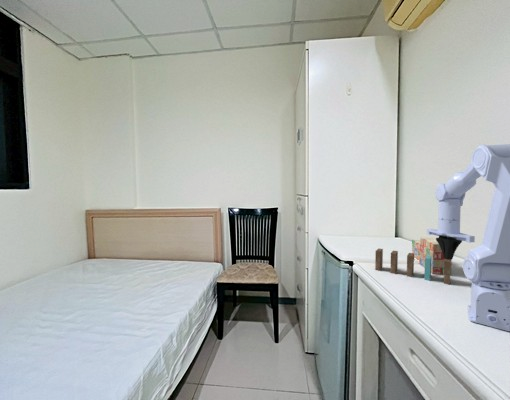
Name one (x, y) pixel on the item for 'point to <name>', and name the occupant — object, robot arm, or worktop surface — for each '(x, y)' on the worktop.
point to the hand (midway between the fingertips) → (448, 258)
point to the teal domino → (427, 268)
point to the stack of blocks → (432, 249)
